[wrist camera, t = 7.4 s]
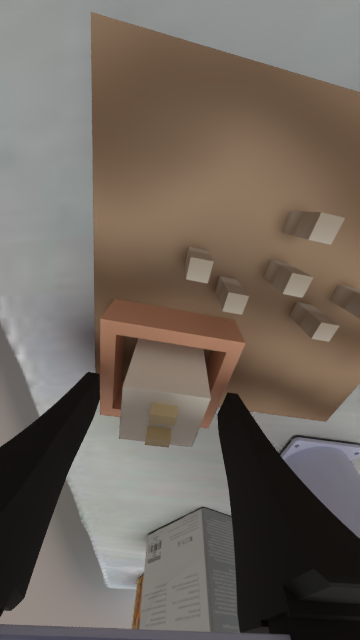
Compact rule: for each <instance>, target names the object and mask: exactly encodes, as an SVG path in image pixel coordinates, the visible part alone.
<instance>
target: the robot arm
mask: <svg viewBox="0 0 360 640" xmlns="http://www.w3.org/2000/svg"><path fill="white" fill-rule="evenodd" d="M99 400H100V374H98V373H91V372H88V373H86V374H85V375H84V376H83V377H82V379H81V380H80V381H79V382H78V383H77V384H76V385H75V386H74V387H73V388H72V389H71V390H69V391H68V392H67V393H66V394H65V395H64V396H63V397H62V398H61V399H60V400H59V401H58V402H57V403H56V404H54V405H53V406H52V407H51V408H50V409H49V410H47V411H46V412H45V413H44V414H43V415H42V416H40V417H39V418H38V419H37V420H36V421H35V422H33V423H32V424H31V425H29V426H28V427H27V428H26V429H24V430H23V431H22V432H21V433H19V434H18V435H17V436H15V437H14V438H13V439H11V440H10V441H8V442H7V443H5V444H4V445H3V446H1V447H0V616H1V615H2V613H3V611H4V610H6V611H11V610H12V609H14V608H15V607H16V606H17V605H18V604H19V603H20V602H21V601H22V600H23V599H24V597H25V594H26V590H27V588H28V584H29V582H30V579H31V576H32V573H33V569H34V567H35V564H36V561H37V558H38V554H39V552H40V549H41V546H42V543H43V540H44V537H45V535H46V531H47V529H48V526H49V523H50V520H51V518H52V515H53V512H54V509H55V506H56V504H57V501H58V498H59V495H60V493H61V490H62V487H63V485H64V482H65V480H66V477H67V474H68V472H69V469H70V467H71V465H72V462H73V460H74V458H75V456H76V454H77V452H78V450H79V447H80V445H81V443H82V441H83V439H84V437H85V435H86V433H87V430H88V428H89V426H90V424H91V422H92V420H93V417H94V415H95V412H96V409H97V406H98V403H99ZM218 430H219V437H220V443H221V448H222V454H223V459H224V464H225V469H226V475H227V480H228V487H229V496H230V505H231V515H232V527H233V539H234V554H235V571H236V592H237V615H238V623H239V630H240V633H228V632H200V631H172V630H145V629H117V628H89V627H87V628H86V627H61V626H33V625H5V624H0V640H360V475H359V473H358V472H357V470H356V469H355V467H354V466H353V464H352V463H351V462H352V461H353V460H354V459H355V458H357V457H358V456H359V455H360V445H356V444H348V443H340V442H332V441H325V440H317V439H309V438H301V437H296V438H294V439H293V440H292V441H291V443H290V444H289V445H288V446H287V448H286V449H285V450H284V451H283V452H282V454H281V455H279V453H278V452H277V451H276V449H275V448H274V447H273V445H272V444H271V443H270V441H269V440H268V439H267V437H266V436H265V434H264V433H263V432H262V430H261V429H260V427H259V426H258V424H257V423H256V421H255V420H254V418H253V417H252V415H251V414H250V412H249V411H248V409H247V407H246V406H245V404H244V403H243V401H242V399H241V398H240V396H239V395H238V394H236V393H229V392H227V395H226V397H225V399H224V401H223V404H222V406H221V408H220V410H219V413H218Z"/></svg>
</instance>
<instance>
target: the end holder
mask: <svg viewBox="0 0 360 640" xmlns="http://www.w3.org/2000/svg"><path fill="white" fill-rule="evenodd" d="M125 336H128V337H134V338H140V339H147V340H153V341H159V342H165V343H171V344H177V345H184V346H190V347H196V348H202V349H208V350H212V351H211V354H210V357H209V360H208V363H207V366H206V369H207V376H208V383H209V389H210V396H211V400H210V402H209V405H208V407H207V410H206V412H205V415H204V417H203V420H202V423H201V425H200V427H202V428H209V426H210V424H211V421H212V419H213V417H214V415H215V412H216V410H217V408H218V405H219V403H220V401H221V399H222V396H223V394H224V392H225V389H226V387H227V385H228V382H229V380H230V378H231V376H232V373H233V371H234V369H235V366H236V364H237V362H238V360H239V357H240V355H241V353H242V350H243V348H244V346H245V344H246V343H245V341H244V339H243V336H242V334H241V332H240V330H239V328H238V326H237V323H236V321H235V320H232V319H226V318H221V317H215V316H210V315H204V314H198V313H193V312H187V311H182V310H176V309H170V308H165V307H159V306H153V305H148V304H142V303H137V302H131V301H125V300H120V299H114V300H113V302H112V303H111V304H110V306H109V307H108V309H107V310H106V311H105V313H104V314H103V316H102V317H101V318H100V415H108V416H115V417H120V416H121V403H122V390H123V384H124V380H122V373H123V360H124V347H125Z"/></svg>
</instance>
